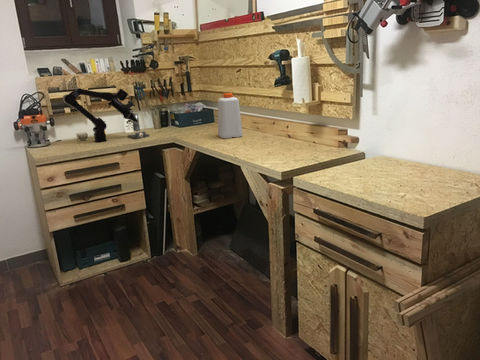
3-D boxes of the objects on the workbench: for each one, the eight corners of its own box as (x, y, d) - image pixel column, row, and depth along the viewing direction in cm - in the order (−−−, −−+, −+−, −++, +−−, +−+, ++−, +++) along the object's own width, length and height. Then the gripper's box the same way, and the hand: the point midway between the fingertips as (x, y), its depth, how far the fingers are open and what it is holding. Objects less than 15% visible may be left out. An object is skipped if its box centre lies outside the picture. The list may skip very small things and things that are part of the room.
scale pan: (135, 135, 273) (135, 134, 273) (129, 134, 279) (129, 133, 279) (145, 133, 279) (145, 132, 278) (139, 132, 284) (139, 131, 284)
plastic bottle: (238, 133, 274) (236, 92, 265) (244, 137, 260) (242, 93, 251) (217, 135, 270) (214, 93, 262) (221, 139, 256) (219, 95, 248)
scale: (136, 139, 270) (135, 133, 269) (127, 137, 279) (126, 131, 278) (150, 136, 277) (149, 130, 276) (141, 134, 286) (140, 129, 285)
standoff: (135, 131, 275) (133, 114, 271) (132, 130, 278) (130, 113, 274) (141, 130, 278) (139, 113, 274) (137, 129, 281) (135, 112, 277)
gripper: (126, 98, 261) (145, 113, 267) (127, 96, 279) (144, 110, 284) (115, 111, 262) (134, 126, 268) (117, 108, 279) (134, 122, 285)
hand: (137, 121), depth 276 cm, fingers closed on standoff, 4 cm apart
